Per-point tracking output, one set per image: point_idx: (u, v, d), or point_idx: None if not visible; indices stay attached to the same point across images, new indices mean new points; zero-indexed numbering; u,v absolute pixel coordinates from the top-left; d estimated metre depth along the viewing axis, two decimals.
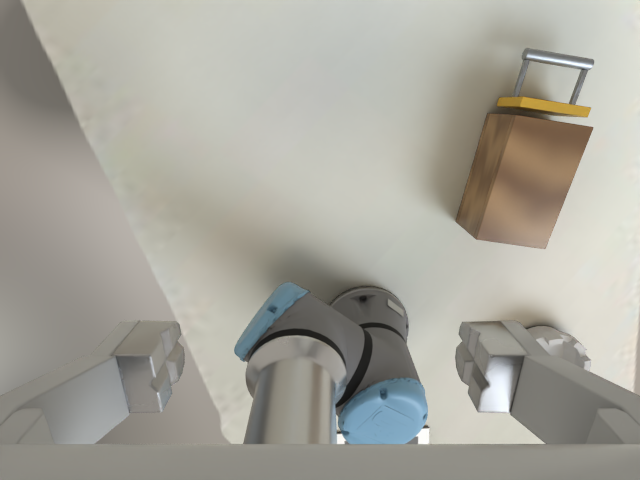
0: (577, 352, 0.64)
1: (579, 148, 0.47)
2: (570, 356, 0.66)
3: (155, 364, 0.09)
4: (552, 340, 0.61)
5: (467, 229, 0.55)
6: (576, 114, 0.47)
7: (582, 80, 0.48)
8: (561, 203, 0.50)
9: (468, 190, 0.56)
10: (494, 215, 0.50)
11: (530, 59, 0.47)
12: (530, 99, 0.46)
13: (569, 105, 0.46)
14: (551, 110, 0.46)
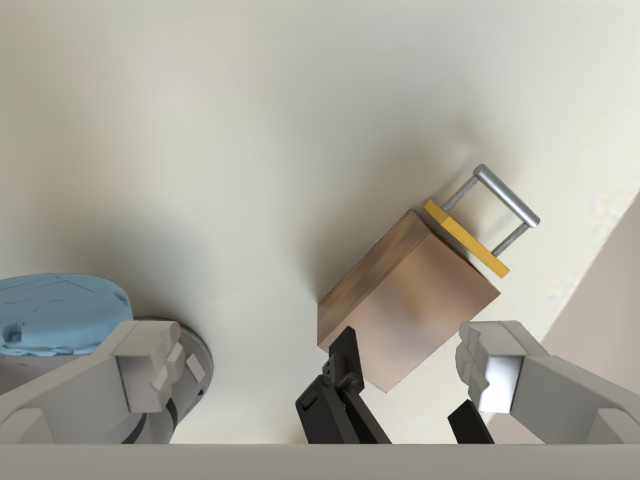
0: None
1: (475, 307, 0.37)
2: None
3: (155, 364, 0.09)
4: None
5: (318, 325, 0.42)
6: (492, 269, 0.37)
7: (518, 234, 0.39)
8: (427, 354, 0.40)
9: (346, 281, 0.44)
10: None
11: (480, 178, 0.36)
12: (455, 224, 0.35)
13: (490, 255, 0.36)
14: (470, 249, 0.36)
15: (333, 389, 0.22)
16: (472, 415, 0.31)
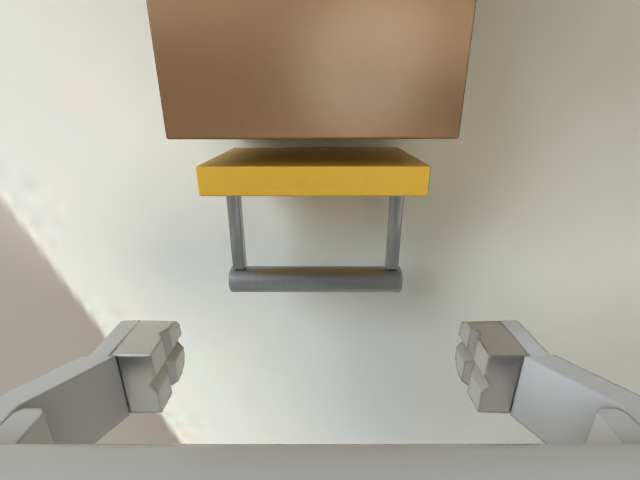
0: None
1: (176, 52, 0.12)
2: None
3: (155, 363, 0.09)
4: None
5: None
6: (235, 169, 0.14)
7: (235, 246, 0.18)
8: None
9: None
10: None
11: (387, 272, 0.19)
12: (401, 191, 0.14)
13: (270, 192, 0.14)
14: (321, 169, 0.14)
15: None
16: None
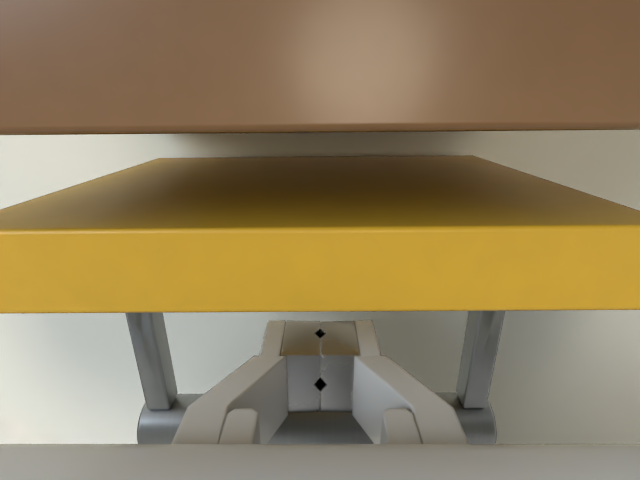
0: None
1: None
2: None
3: (320, 364, 0.09)
4: None
5: None
6: (61, 239, 0.04)
7: (147, 369, 0.09)
8: None
9: None
10: None
11: (466, 414, 0.09)
12: (578, 298, 0.05)
13: (179, 303, 0.05)
14: (334, 236, 0.04)
15: None
16: None
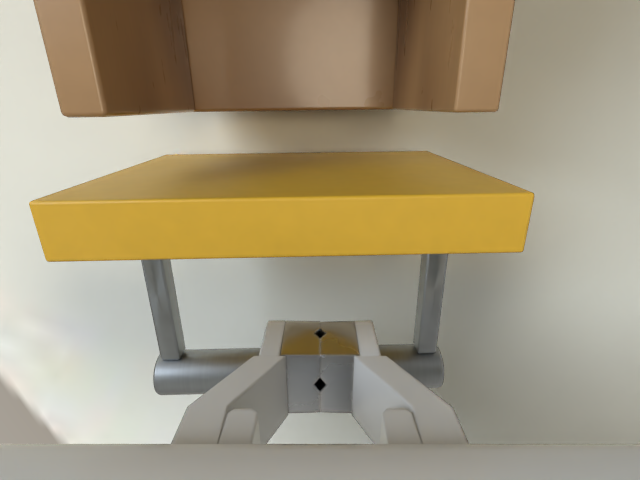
0: None
1: None
2: None
3: (320, 363, 0.09)
4: None
5: None
6: (117, 206, 0.06)
7: (162, 325, 0.11)
8: None
9: None
10: None
11: (419, 358, 0.11)
12: (470, 244, 0.07)
13: (197, 252, 0.07)
14: (303, 202, 0.07)
15: None
16: None
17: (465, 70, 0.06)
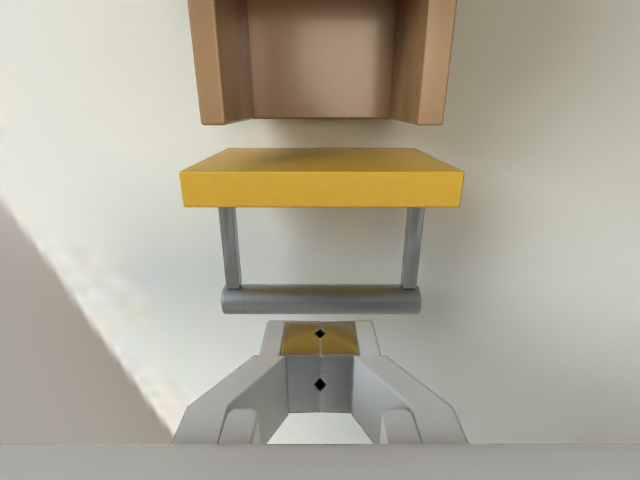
0: None
1: None
2: None
3: (320, 364, 0.09)
4: None
5: None
6: (227, 175, 0.12)
7: (229, 263, 0.16)
8: None
9: None
10: None
11: (404, 292, 0.16)
12: (428, 201, 0.12)
13: (270, 202, 0.12)
14: (332, 175, 0.12)
15: None
16: None
17: (423, 102, 0.11)
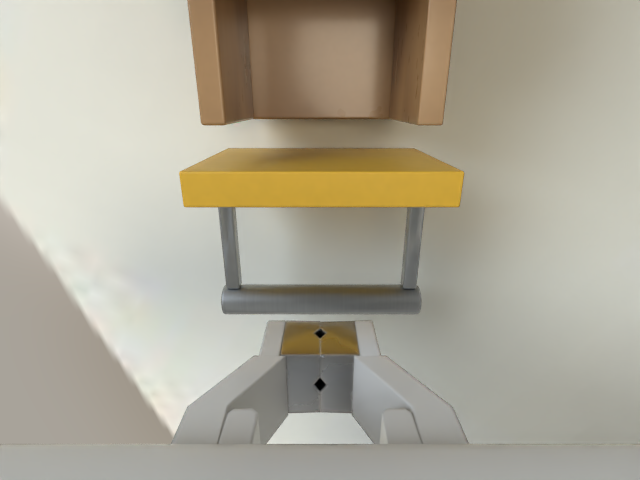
0: None
1: None
2: None
3: (320, 364, 0.09)
4: None
5: None
6: (227, 175, 0.12)
7: (229, 263, 0.16)
8: None
9: None
10: None
11: (404, 292, 0.16)
12: (428, 201, 0.12)
13: (270, 202, 0.12)
14: (332, 175, 0.12)
15: None
16: None
17: (423, 102, 0.11)
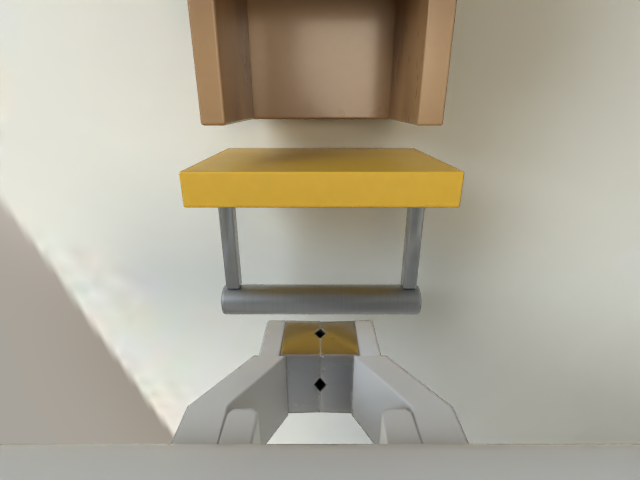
0: None
1: None
2: None
3: (320, 364, 0.09)
4: None
5: None
6: (227, 175, 0.12)
7: (229, 263, 0.16)
8: None
9: None
10: None
11: (404, 292, 0.16)
12: (427, 201, 0.12)
13: (270, 203, 0.12)
14: (332, 175, 0.12)
15: None
16: None
17: (423, 102, 0.11)
